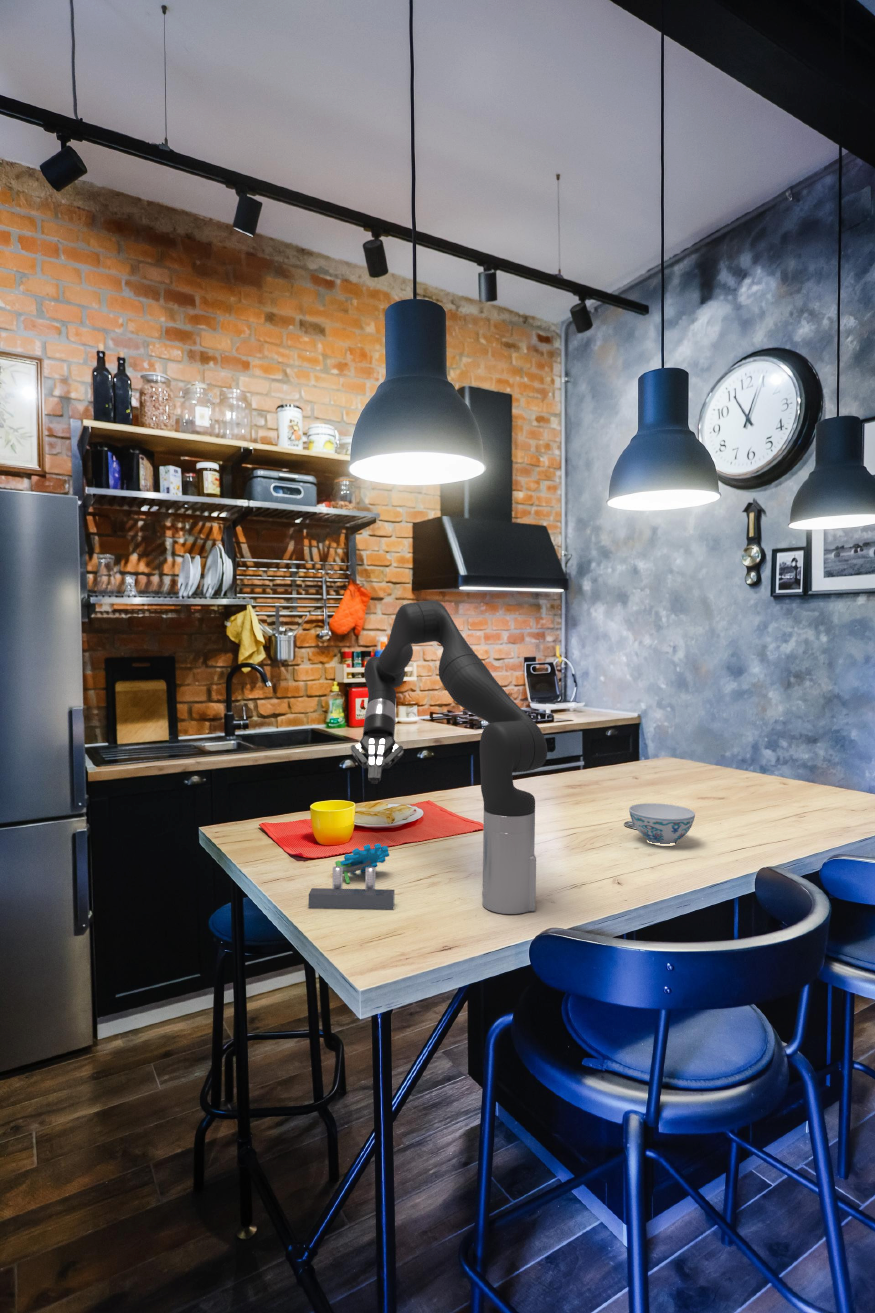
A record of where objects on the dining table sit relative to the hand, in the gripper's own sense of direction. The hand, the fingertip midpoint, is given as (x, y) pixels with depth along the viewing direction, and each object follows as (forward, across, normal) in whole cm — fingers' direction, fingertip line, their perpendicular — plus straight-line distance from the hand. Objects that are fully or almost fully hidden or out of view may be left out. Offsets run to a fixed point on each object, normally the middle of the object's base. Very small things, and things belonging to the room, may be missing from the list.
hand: (374, 781), depth 163 cm
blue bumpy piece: (+25, 0, -3) cm, 25 cm away
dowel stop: (+35, 0, -13) cm, 37 cm away
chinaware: (+5, +68, +17) cm, 70 cm away
